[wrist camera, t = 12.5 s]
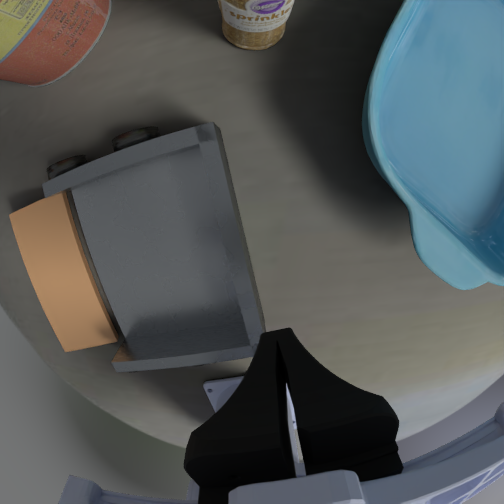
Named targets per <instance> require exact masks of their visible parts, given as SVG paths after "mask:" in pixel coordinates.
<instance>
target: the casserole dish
mask: <svg viewBox="0 0 504 504" xmlns="http://www.w3.org/2000/svg"><path fill="white" fill-rule="evenodd" d="M362 131H363V138H364V143H365V147H366V150H367V153H368V155H369V157H370V159H371V161H372V163H373V165H374V166H375V168H376V170H377V171H378V173H379V174H380V175H381V176H382V178H383V179H384V180H385V181H386V182H387V183H388V185H389V186H390V187H391V188H392V189H393V190H394V192H395V193H396V194H397V195H398V197H399V198H400V199H401V200H402V202H403V203H404V204H405V206H406V207H407V209H408V213H409V221H410V228H411V236H412V240H413V244H414V248H415V250H416V253H417V255H418V256H419V258H420V259H421V261H422V262H423V263H424V264H425V265H426V266H427V267H428V268H429V269H430V270H431V271H432V272H433V273H434V274H436V275H437V276H438V277H440V278H441V279H442V280H443V281H445V282H446V283H448V284H449V285H451V286H453V287H455V288H458V289H461V290H468V289H473V288H476V287H478V286H480V285H482V284H484V283H487V282H490V283H493V284H496V285H499V286H504V0H404V1H403V3H402V5H401V7H400V9H399V11H398V12H397V14H396V16H395V18H394V20H393V22H392V24H391V25H390V27H389V29H388V31H387V33H386V35H385V38H384V40H383V42H382V45H381V47H380V49H379V52H378V55H377V58H376V61H375V64H374V67H373V70H372V72H371V75H370V78H369V82H368V85H367V89H366V92H365V98H364V104H363V113H362Z"/></svg>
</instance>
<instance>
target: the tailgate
mask: <svg viewBox="0 0 504 504" xmlns="http://www.w3.org/2000/svg"><path fill="white" fill-rule="evenodd" d="M9 216H10V220H11V223H12V227H13V230H14V234H15V237H16V240H17V243H18V246H19V249H20V252H21V255H22V258H23V261H24V264H25V266H26V269H27V272H28V274H29V277H30V279H31V282H32V284H33V287H34V289H35V291H36V294H37V296H38V298H39V301H40V303H41V305H42V307H43V309H44V312H45V314H46V316H47V318H48V320H49V322H50V324H51V326H52V328H53V330H54V332H55V334H56V336H57V338H58V339H59V341H60V343H61V345H62V347H63V349H64V350H65V352H70V351H75V350H80V349H85V348H89V347H94V346H99V345H104V344H108V343H113V342H117V341H118V338H119V336H118V334H117V332H116V330H115V327H114V325H113V323H112V321H111V319H110V317H109V314H108V312H107V310H106V308H105V305H104V303H103V301H102V298H101V296H100V293H99V291H98V289H97V286H96V284H95V281H94V278H93V276H92V273H91V271H90V268H89V265H88V262H87V260H86V257H85V254H84V251H83V248H82V245H81V242H80V239H79V236H78V233H77V230H76V227H75V223H74V220H73V217H72V213H71V210H70V206H69V202H68V199H67V195H66V192H65V193H61V194H58V195H54V196H51V197H48V198H44V199H41V200H39V201H37V202H35V203H33V204H30V205H28V206H26V207H24V208H22V209H20V210H18V211H16V212H14V213H12V214H10V215H9Z"/></svg>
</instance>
